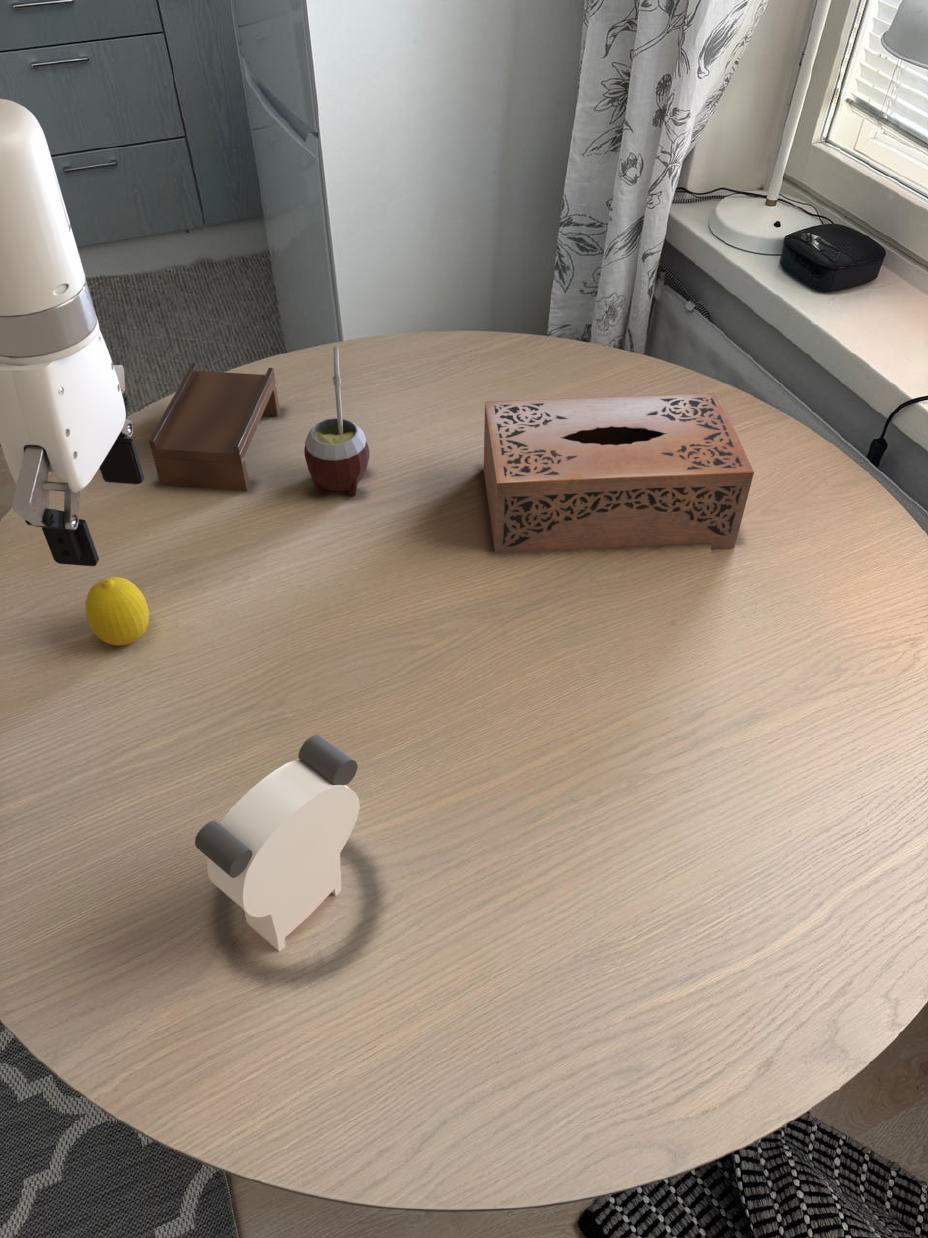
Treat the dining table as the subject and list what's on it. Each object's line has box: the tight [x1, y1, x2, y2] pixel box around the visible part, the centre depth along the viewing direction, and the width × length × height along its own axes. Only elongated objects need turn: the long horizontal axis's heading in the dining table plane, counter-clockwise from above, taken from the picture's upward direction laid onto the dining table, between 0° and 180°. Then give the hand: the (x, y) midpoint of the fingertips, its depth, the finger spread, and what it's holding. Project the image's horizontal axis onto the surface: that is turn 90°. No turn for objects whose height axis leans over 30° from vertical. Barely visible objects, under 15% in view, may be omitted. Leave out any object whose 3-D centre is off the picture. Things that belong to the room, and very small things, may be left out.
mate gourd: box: [303, 345, 370, 497], centre depth 108 cm, size 8×8×15 cm
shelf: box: [148, 362, 281, 492], centre depth 116 cm, size 10×16×7 cm, turn 174°
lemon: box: [85, 576, 150, 647], centre depth 94 cm, size 6×6×8 cm
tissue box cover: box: [483, 392, 755, 553], centre depth 107 cm, size 26×14×10 cm, turn 94°
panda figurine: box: [194, 734, 361, 952], centre depth 72 cm, size 12×11×15 cm
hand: (102, 519), depth 76 cm, fingers open, 9 cm apart
